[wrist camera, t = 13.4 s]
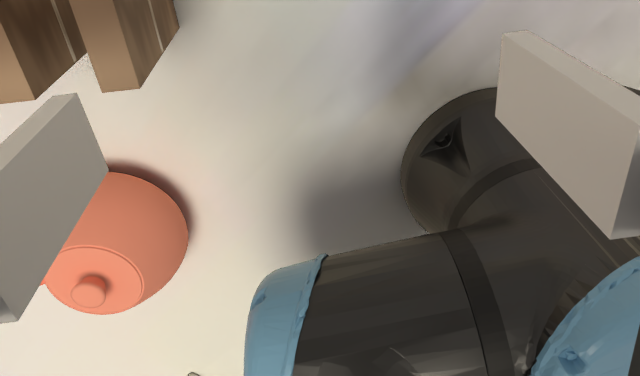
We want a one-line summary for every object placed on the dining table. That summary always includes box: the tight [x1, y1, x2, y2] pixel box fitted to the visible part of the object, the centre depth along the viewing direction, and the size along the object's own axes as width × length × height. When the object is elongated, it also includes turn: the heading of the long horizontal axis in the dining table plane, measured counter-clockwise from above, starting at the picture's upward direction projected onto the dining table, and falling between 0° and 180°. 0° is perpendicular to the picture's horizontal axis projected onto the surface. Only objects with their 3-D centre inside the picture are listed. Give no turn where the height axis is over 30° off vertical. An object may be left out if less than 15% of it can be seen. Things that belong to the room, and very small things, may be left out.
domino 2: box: [69, 0, 179, 93], centre depth 28 cm, size 6×2×12 cm, turn 5°
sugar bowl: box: [39, 172, 188, 315], centre depth 40 cm, size 12×14×10 cm
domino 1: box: [0, 0, 87, 104], centre depth 28 cm, size 6×2×12 cm, turn 5°
